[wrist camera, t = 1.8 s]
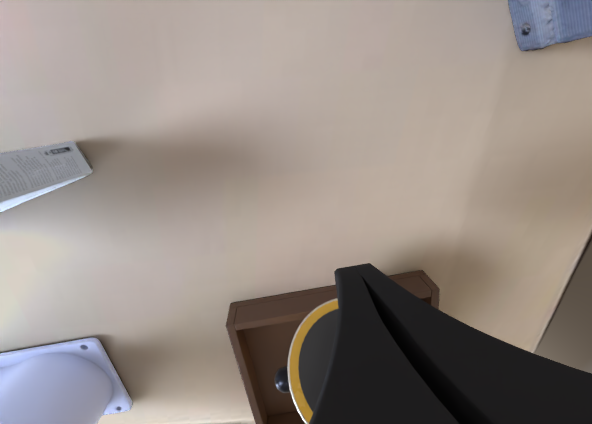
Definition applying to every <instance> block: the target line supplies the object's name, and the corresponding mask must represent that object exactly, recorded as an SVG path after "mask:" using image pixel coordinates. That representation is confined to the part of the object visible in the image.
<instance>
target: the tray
mask: <svg viewBox="0 0 592 424" xmlns="http://www.w3.org/2000/svg"><path fill="white" fill-rule="evenodd" d="M388 277H389V278H390V279H392V280H393V281H394V282H396V283H397V284H399V285H400V286H402V287H403V288H405V289H406V290H407V291H409V292H410V293H412V294H413V295H415V296H417V297H418V298H420V299H421V300H423V301H425V302H426V303H428V304H430V305H431V306H433V307H435V308H436V309H438V306H439V288H438V287H437V286H436V284H435V283H434V282H433V281H432V280H431V279H430V278H429V277H428V276H427V275H426V273H425V272H424V271H423V270H421V271H415V272H409V273H403V274H398V275H392V276H388ZM336 298H337V290H336V285H334V286H328V287H322V288H316V289H310V290H305V291H299V292H293V293H287V294H281V295H276V296H270V297H264V298H258V299H252V300H246V301H241V302H235V303H231V304H230V309H229V313H228V318H227V323H226V328H227V331H228V335H229V338H230V341H231V345H232V348H233V351H234V354H235V358H236V361H237V364H238V367H239V371H240V374H241V377H242V380H243V384H244V387H245V390H246V393H247V397H248V400H249V403H250V406H251V410H252V413H253V416H254V419H255V423H256V424H305V422H304V421H303V419H302V418H301V416H300V414H299V412H298V411H297V408H296V406H295V404H294V401H293V398H292V395H291V392H289V393H283V392H281V391H279V390H278V389H277V387H276V385H275V374H276V372H277V371H278V369H280V368H281V367H283V366H288V355H289V349H290V346H291V342H292V339H293V337H294V334H295V332H296V330H297V329H298V327H299V325H300V324H301V322H302V321H303V320H304V318H305V317H306V316H307V315H308V314H309V313H310V312H311V311H312V310H314V309H315V308H316V307H318V306H319V305H321V304H323V303H325V302H327V301H330V300H332V299H336Z"/></svg>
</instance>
